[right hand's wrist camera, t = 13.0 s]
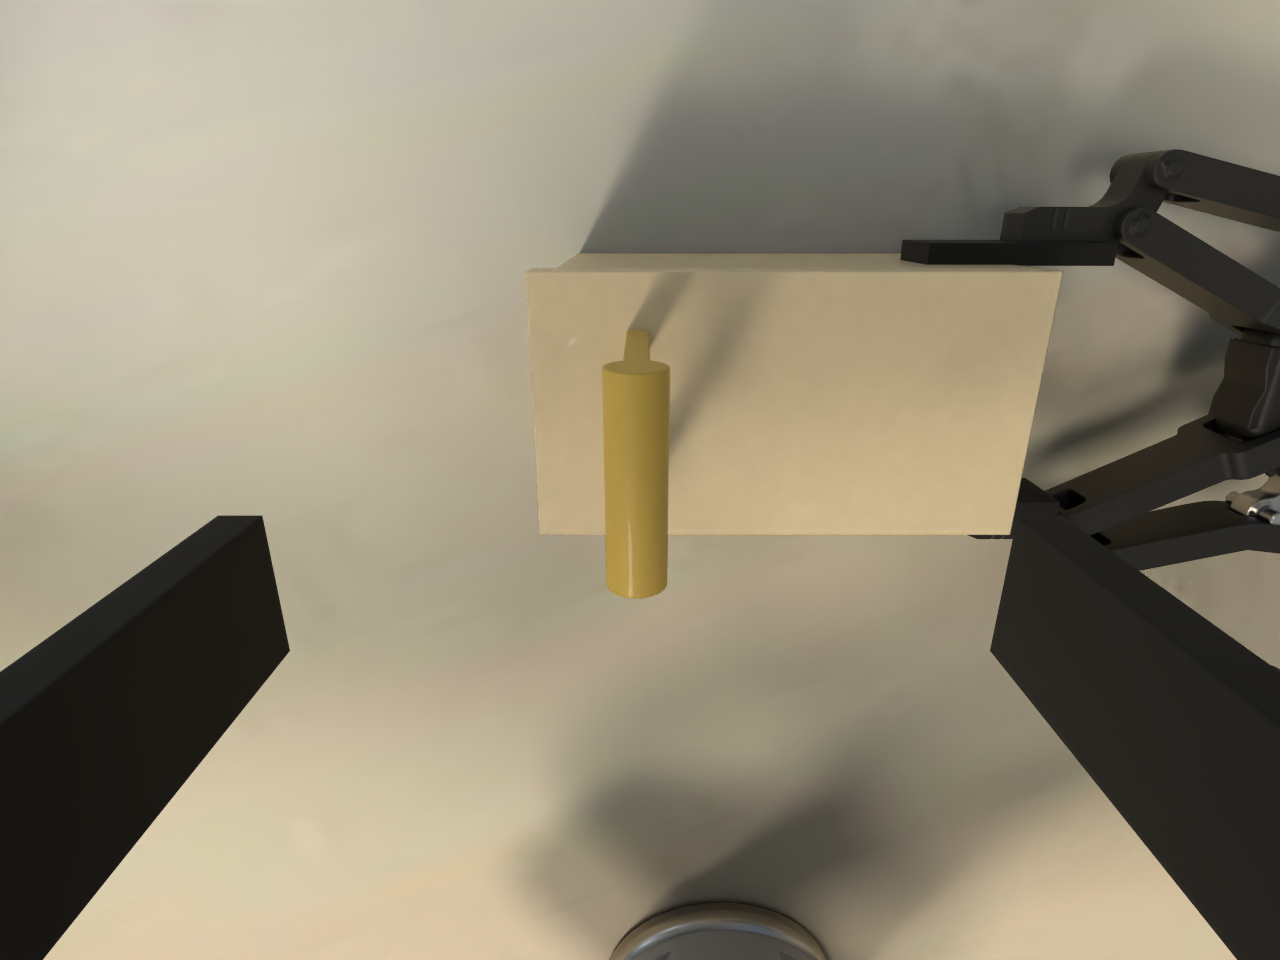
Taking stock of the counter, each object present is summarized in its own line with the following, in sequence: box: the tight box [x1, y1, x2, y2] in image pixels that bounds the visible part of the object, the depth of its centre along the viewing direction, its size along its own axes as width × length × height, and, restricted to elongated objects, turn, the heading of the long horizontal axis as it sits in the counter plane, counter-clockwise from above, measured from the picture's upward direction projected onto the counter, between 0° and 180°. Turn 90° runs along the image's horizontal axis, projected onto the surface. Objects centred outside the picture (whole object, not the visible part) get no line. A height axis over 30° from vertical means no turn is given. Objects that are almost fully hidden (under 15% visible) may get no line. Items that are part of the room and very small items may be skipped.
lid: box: [526, 268, 1063, 598], centre depth 21 cm, size 17×9×8 cm, turn 90°
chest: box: [557, 253, 1039, 269], centre depth 29 cm, size 16×9×9 cm, turn 90°
